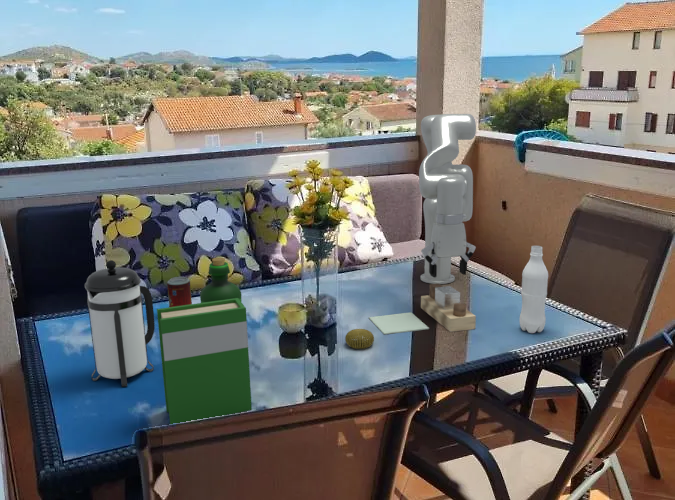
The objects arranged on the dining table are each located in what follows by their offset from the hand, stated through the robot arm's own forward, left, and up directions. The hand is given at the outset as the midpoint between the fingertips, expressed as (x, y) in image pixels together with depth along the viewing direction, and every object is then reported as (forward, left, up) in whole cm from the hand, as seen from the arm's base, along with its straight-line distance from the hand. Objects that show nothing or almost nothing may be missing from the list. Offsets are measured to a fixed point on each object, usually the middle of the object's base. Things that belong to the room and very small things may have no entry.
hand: (448, 274), depth 189 cm
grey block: (-1, 0, -10) cm, 10 cm away
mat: (-1, -16, -14) cm, 21 cm away
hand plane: (-1, 0, -14) cm, 14 cm away
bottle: (+11, -69, -14) cm, 71 cm away
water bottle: (+16, +19, -14) cm, 29 cm away
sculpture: (+11, -32, -14) cm, 37 cm away
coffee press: (+10, -94, -14) cm, 95 cm away
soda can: (-29, -79, -14) cm, 85 cm away
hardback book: (+36, -75, -14) cm, 84 cm away
